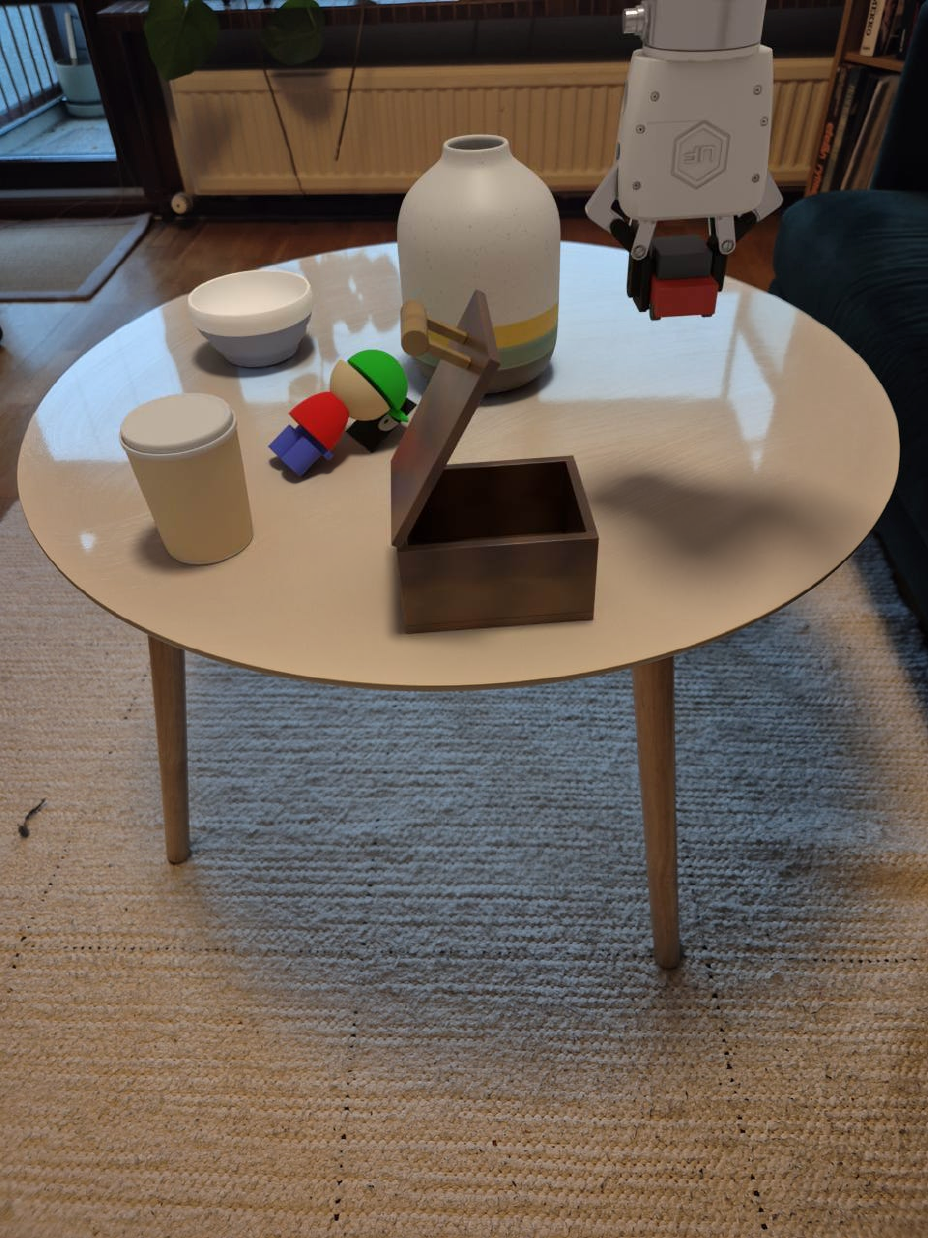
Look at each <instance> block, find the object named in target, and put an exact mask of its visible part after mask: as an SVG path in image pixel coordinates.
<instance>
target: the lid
mask: <svg viewBox="0 0 928 1238" xmlns="http://www.w3.org/2000/svg"><path fill="white" fill-rule="evenodd" d="M399 321H400V322H399V323H400V324H399V325H400V347H401V349H402V351H403V352H404V354H406V355H408V356H410V357H411V356H420V355H422V354H424V353H425V352H426V353H428V354H431V355H433V356H435V357H437V358H440V359H441V360H440V362H439V364H438V366H437V368H436V370H435V372H434V374H433V376H432V378H431V380H430V381H428V382H429V383H428V385H427V386H426V389H425V390H424V393H423V394H422V397H421V399H420V400H419V403H418V404H417V406H416V408H415V410H414V413H413V414H412V417H411V419H410V420H409V422H408V425H407V427H406V429H405V431H404V433H403V435H402V437H401V439H400V441H399V443H398V445H397V447H396V449H395V451H394V453H393V455H392V457H391V460H390V540H391V541H390V546H392V547H394V548H396V549H397V548H400V549H401V548H402V546H403V544H404V542H405V541H406V539H407V537H408V535H409V533H410V531H411V529H412V528H413V526H414V524H415V522H416V520H417V518H418V516H419V515H420V513H421V511H422V509H423V507H424V505H425V504H426V502H427V500H428V498H429V496H430V494H431V492H432V491H433V489H434V487H435V485H436V483H437V481H438V479H439V478H440V476H441V474H442V472H443V470H444V468H445V466H446V465H447V464H449V463H448V462H449V461H450V460H451V458H452V455H453V453H454V451H455V450H456V448H457V447H458V444H459V443H460V441H461V439H462V437H463V436H464V433H465V431H466V429H467V428H468V426H469V424H470V423H471V420H472V419H473V416H474V415H475V413H476V411H477V409H478V407H479V405H480V403H481V402H482V400H483V398H484V396H485V395H486V394H485V392H486V391H487V389H488V387H489V385H490V383H491V381H492V379H493V378H494V376H495V374H496V372H497V370H498V368H499V366H500V365H501V362H500V358H499V353H498V349H497V344H496V340H495V335H494V331H493V327H492V322H491V318H490V313H489V309H488V304H487V300H486V295H485V293H483V292H481V291H479V290H477V289H476V290H475V291H474V293H473V295H472V297H471V299H470V301H469V303H468V305H467V307H466V310H465V312H464V314H463V316H462V318H461V320H460V322H459V324H458V326H457V328H455V327H453V326H451V325H448V324H446V323H444V322H442V321H439V320H437V319H435V318H433V317H431V316H428V315H427V313H426V308H425V307H424V305H423V304H422V303H420V302H419V301H415V300H411V301H408V302H406V303H405V304H404V305H403V304H402V306H401V307H400V310H399ZM428 330H430V331H433V332H435V333H437V334H439V335H442V336H444V337H446V338H448V339H451V340H450V342H449V344H448V346H447V347H446V346H443V345H441V344H439V343H437V342H434V341H432V340H430V339H429V336H428Z"/></svg>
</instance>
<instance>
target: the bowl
mask: <svg viewBox="0 0 928 1238" xmlns="http://www.w3.org/2000/svg"><path fill="white" fill-rule="evenodd" d="M310 283H311V282H310V281H309V280H308V279H307V278H306V277H304V276H302V275H300V274H298V273H295V272H293V271H287V270H279V269H276V270H275V269H256V270H245V271H237V272H233V273H229V274H225V275H222V276H221V275H220V276H218V277H215V278H212V279H210V280H207V281H205V282H202V284H199V285H198V286H196V287H195V288H194V289H193V290H192V291H191V292H190V293H189V295H188V297H187V307H188V313H189V316H190V319H191V322H192V324H193V325H194V327H195V328H196V329H197V330H198V332H199V333H200V334H201V336H202V337H203V338H205V339H206V341H208V342H209V345H210V346H211V347H212V348H213V349H215V350H216V351H217V352H218V353H220V354H222V356H223V357H224V358H225V360H226V361H228V362H229V363H230V364H233V365H235V366H239V367H244V368H263V367H270V366H273V365H277V364H280V363H282V362H284V361H287V360H288V359H290V358H291V357H292V356H293V355H295V354H296V353H297V351H298V349H299V343H300V342H301V340H302V339H303V338H304V336H305V334H306V332H307V326H308V324H309V323H310V321H311V318H312V314H313V311H314V305H315V304H314V294H313V290H312V286H311V284H310Z"/></svg>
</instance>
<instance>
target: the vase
mask: <svg viewBox="0 0 928 1238" xmlns="http://www.w3.org/2000/svg"><path fill="white" fill-rule="evenodd" d="M559 215H560V214H559V210H558V206H557V203H556V200H555V198H554V196H553V194H552V192H551V190H550V188H549V187H548V185H547V184H546V183H545V182H544V181H543V180H542V179H541V178H540V177H539V176H538V175H537V174H536V173H535V172H534V171H532V170H531V169H529V167H527V166H526V165H524V164H523V163H522V162H520V161H519V160H518V159H517V158H516V157H514V156H513V154H512V152H511V149H510V143H509V140H508V139H507V138H505V137H503V136H500V135H495V134H482V133H481V134H479V133H478V134H466V135H460V136H456V137H452V138H449V139H447V140H446V141H444V143H443V144H442V152H441V156H440V158H439V159H438V160H437V162H436V163H435V164H434V165H432V166H431V167H430V168H429V169H428V170H427V171H426V172H425V173H423V175H421V177H419V178H418V180H416V181H415V182H414V184H413V185H412V186H411V187H410V189H409V190H408V192H407V193H406V195H405V197H404V198H403V201H402V204H401V207H400V210H399V214H398V219H397V225H396V226H397V227H396V241H397V243H396V245H397V256H398V267H399V278H400V279H399V280H400V289H401V301H402V306H403V305H404V304H405V303H406V302H408V301H411V300H415V301H419V302H420V303H422V304H423V305H424V307H425V308H426V313H427V315H428V316H431V317H433V318H435V319H437V320H439V321H442V322H444V323H446V324H448V325H451V326H453V327H455V328H457V326H458V324H459V322H460V320H461V318H462V316H463V314H464V312H465V310H466V307H467V305H468V303H469V301H470V299H471V297H472V295H473V293H474V291H475V290H476V289H477V290H479V291H481V292H483V293H485V295H486V300H487V304H488V309H489V313H490V318H491V322H492V327H493V331H494V335H495V340H496V344H497V349H498V353H499V358H500V362H501V365H500V366H499V368H498V370H497V372H496V374H495V376H494V378H493V379H492V381H491V383H490V385H489V387H488V389H487V391H486V392H485V394H484V395H486V394H495V393H502V392H507V391H510V390H513V389H517V388H520V387H522V386H524V385H526V384H528V383H531V382H532V381H533V380H535V379H536V378H537V377H539V376H540V375H541V374H542V373H543V372H544V371H545V370H546V368H547V367H548V365H549V363H550V361H551V359H552V356H553V354H554V351H555V348H556V344H557V338H558V328H559V310H560V309H559V308H560V279H561V278H560V276H561V242H562V241H561V236H562V235H561V219H560V216H559ZM428 336H429V339H430V340H432V341H434V342H437V343H439V344H441V345H443V346H446V347H447V346H448V344H449V342H450V340H451V339H448V338H446V337H444V336H442V335H439V334H437V333H435V332H433V331H430V330H428ZM410 357H411V360H412V362H413V364H414V366H415V367H416V369H417V370H418V372H419V373H420V374H421V375H422V377H423V378H424V379H426V380H427V381H428V382H430V380H431V378H432V376H433V374H434V372H435V370H436V368H437V366H438V364H439V362H440V360H441V359H440V358H437V357H435V356H433V355H431V354H428V353H426V352H425V353H424V354H422V355H420V356H410Z"/></svg>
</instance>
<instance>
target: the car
mask: <svg viewBox="0 0 928 1238" xmlns="http://www.w3.org/2000/svg"><path fill="white" fill-rule="evenodd" d="M704 242H705V241H704V240H703V238H702V237H701V236H700V235H699V234H682V235H681V234H680V235H667V236H652V239H651V243H650V246H649V249H650V254H649V255H650V256H651V258H652V260H653V274H652V283H651V294H650V307H649V310H648V316H649V319H650V321H652V322H656V321H657V322H658V321H661V320H662V318H676V317H677V318H678V317H692V316H700V317H701V318H712V317H713V315H715V314H716V310H717V309H716V308H717V302H718V301H717V300H718V294H719V292H718V288H719V285H718V284H717V282H716V281H715V279H714V278H713V277H712V275H711V274H710V268H711V260H712V252H711V250H710V249H709V248H708V246H707V245H706V244H705V243H704Z"/></svg>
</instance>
